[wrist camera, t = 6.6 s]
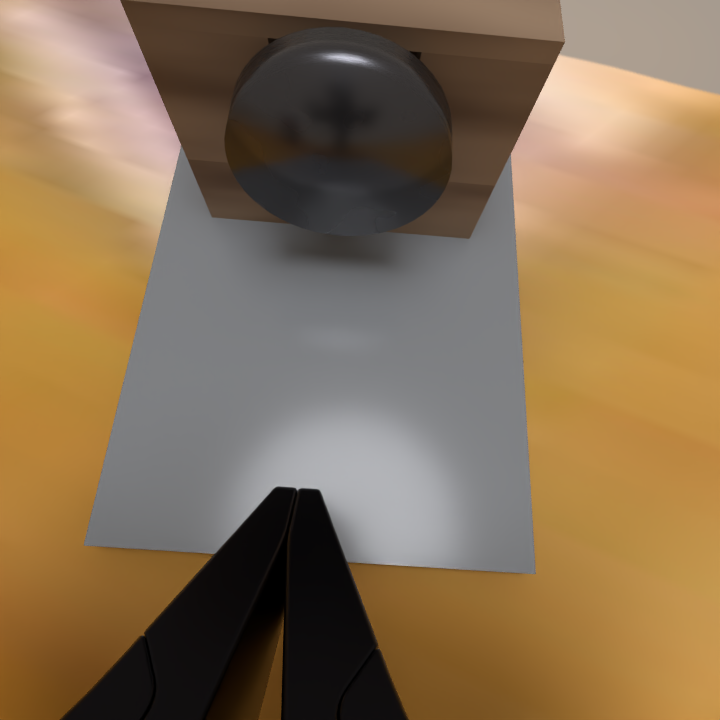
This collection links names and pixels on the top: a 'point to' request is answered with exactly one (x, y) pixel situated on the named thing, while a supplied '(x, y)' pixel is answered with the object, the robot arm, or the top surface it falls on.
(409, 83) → the plunger
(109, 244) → the top surface
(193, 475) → the slate board
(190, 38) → the press housing
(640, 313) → the top surface
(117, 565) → the top surface
